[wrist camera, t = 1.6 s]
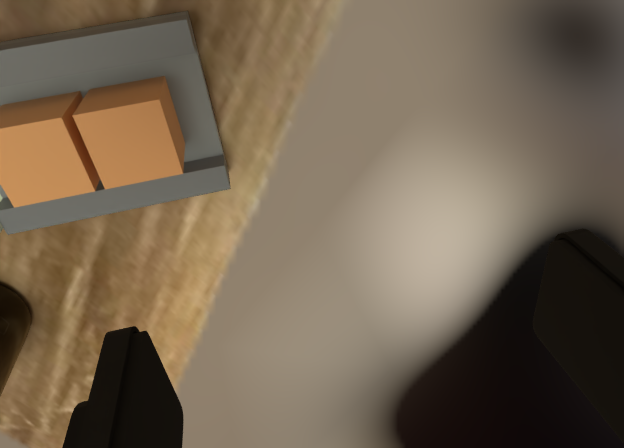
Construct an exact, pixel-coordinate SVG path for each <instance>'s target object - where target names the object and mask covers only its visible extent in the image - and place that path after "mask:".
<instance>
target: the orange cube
mask: <svg viewBox="0 0 624 448" xmlns="http://www.w3.org/2000/svg"><path fill="white" fill-rule="evenodd" d="M72 116H73V118H74V120H75V123H76V125H77V127H78V129H79V132H80V134H81V136H82V138H83V141H84V143H85V145H86V147H87V150H88V152H89V154H90V156H91V159H92V161H93V163H94V166H95V168H96V170H97V172H98V175H99V177H100V179H101V181H102V184H103V186H104V188H105V189H110V188H115V187H120V186H125V185H130V184H135V183H140V182H145V181H150V180H155V179H160V178H165V177H170V176H175V175H180V174H183V168H184V154H185V141H184V137H183V134H182V131H181V128H180V124H179V121H178V118H177V114H176V111H175V108H174V105H173V101H172V98H171V95H170V91H169V88H168V85H167V82H166V78H165V76H161V77H155V78H149V79H144V80H138V81H133V82H127V83H121V84H116V85H110V86H105V87H99V88H93V89H89V91H88V92H87V94H86V95H85V97H84V98H83V100H82V101H81V103H80V104H79V106H78V108H77V109H76V111H75V112H74V114H73V115H72Z"/></svg>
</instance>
